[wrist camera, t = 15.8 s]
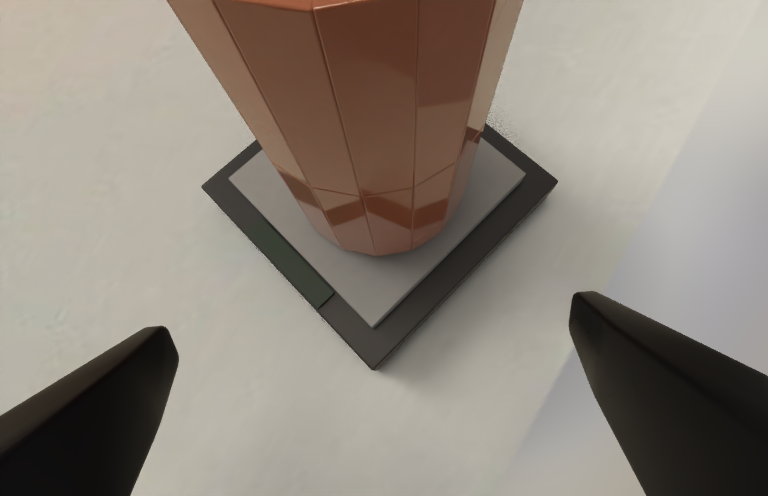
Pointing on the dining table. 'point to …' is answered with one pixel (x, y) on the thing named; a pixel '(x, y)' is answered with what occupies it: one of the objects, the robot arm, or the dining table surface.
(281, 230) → the scale
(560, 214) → the dining table surface
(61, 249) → the dining table surface
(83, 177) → the dining table surface
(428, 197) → the orange faceted cup
